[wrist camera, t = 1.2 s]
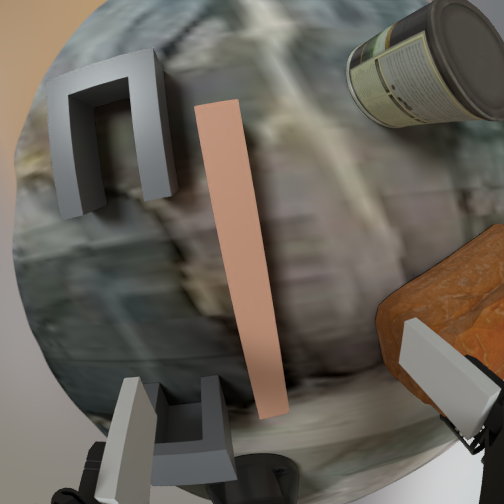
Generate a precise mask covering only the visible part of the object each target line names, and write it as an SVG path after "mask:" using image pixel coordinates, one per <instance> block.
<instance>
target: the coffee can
mask: <svg viewBox="0 0 504 504" xmlns="http://www.w3.org/2000/svg"><path fill="white" fill-rule="evenodd" d="M346 78H347V83H348V87H349V90H350V92H351V95H352V97H353V99H354V100H355V102H356V104H357V105H358V107H359V108H360V109H361V110H362V111H363V112H364V113H365V114H366V115H367V116H368V117H369V118H370V119H372V120H373V121H375V122H376V123H378V124H380V125H383V126H386V127H389V128H402V127H406V126H412V125H421V124H431V123H443V122H455V121H470V120H487V121H503V120H504V42H503V40H502V38H501V37H500V35H499V33H498V32H497V30H496V29H495V27H494V26H493V25H492V23H491V22H490V21H489V19H488V18H487V17H486V16H485V15H484V14H483V13H482V12H481V11H480V10H479V9H478V8H477V7H475V6H474V5H473V4H471V3H470V2H469V1H467V0H433V1H432V2H431V3H430V4H428V5H426V6H424V7H422V8H421V9H419V10H417V11H415V12H414V13H412V14H410V15H408V16H407V17H405V18H403V19H402V20H400V21H398V22H397V23H395V24H394V25H392V26H390V27H389V28H387V29H385V30H384V31H382V32H381V33H379V34H377V35H376V36H374V37H373V38H371V39H370V40H368V41H367V42H365V43H363V44H361V45H359V46H358V47H356V48H355V49H354V50H353V52H352V53H351V54H350V56H349V59H348V62H347V66H346Z"/></svg>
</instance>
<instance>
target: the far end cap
mask: <svg viewBox="0 0 504 504" xmlns="http://www.w3.org/2000/svg"><path fill="white" fill-rule="evenodd" d="M143 387H144V389H145V391H146V394H147V396H148V398H149V400H150V402H151V404H152V407H153V409H154V411H155V413H156V415H157V423H156V432H155V441H154V450H153V461H152V472H151V485H152V486H177V485H194V484H206V483H216V482H225V481H232V480H238V478H237V472H236V466H235V459H234V452H233V446H232V439H231V432H230V424H229V417H228V409H227V406H226V402H225V399H224V395H223V391H222V388H221V384H220V380H219V376H218V375H214V376H207V377H201V402H199V403H191V404H183V405H173V406H169V405H168V402H167V400H166V398H165V395H164V393H163V390H162V388H161V386H160V383H150V384H143Z"/></svg>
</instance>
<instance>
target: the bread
mask: <svg viewBox="0 0 504 504" xmlns="http://www.w3.org/2000/svg"><path fill="white" fill-rule="evenodd" d="M415 317H416V318H418V319H419V320H420V321H421V322H423V323H424V324H425V325H426V326H428V327H429V328H430V329H431V330H433V331H434V332H435V333H436V334H437V335H439V336H440V337H441V338H442V339H444V340H445V341H446V342H447V343H448V344H450V345H451V346H452V347H453V348H454V349H456V350H457V351H458V352H459V353H460V354H462V355H463V356H465V355H467V354H468V355H470V356H473V357H475V358H477V359H478V360H479V361H481V362H482V363H483V365H485V366H487V367H488V368H489V370H491V371H493V372H494V373H495V374H496V375H497V376H499V377H500V378H501V379H502V380H504V225H503V224H494V225H493V226H491V227H490V228H489V229H487V230H486V231H485V232H483V233H482V234H480V235H479V236H478V237H476V238H475V239H473V240H472V241H470V242H469V243H467V244H466V245H464V246H463V247H462V248H460V249H459V250H458V251H456V252H455V253H454V254H452V255H451V256H449V257H448V258H447V259H445V260H444V261H442V262H441V263H439V264H438V265H436V266H435V267H433V268H432V269H430V270H428V271H427V272H425V273H424V274H422V275H421V276H419V277H417V278H416V279H414V280H412V281H411V282H409V283H407V284H406V285H404V286H403V287H401V288H400V289H398V290H397V291H395V292H394V293H392V294H391V295H390V296H389V297H388V298H386V299H385V300H384V301H383V302H382V303H381V304H380V305H379V306H378V311H377V316H376V321H375V324H376V329H377V333H378V338H379V342H380V347H381V352H382V357H383V362H384V364H385V365H386V367H387V368H388V370H389V371H390V373H391V374H392V375H393V376H394V377H396V378H397V379H398V380H399V381H400V382H401V383H402V384H403V385H404V386H405V387H406V388H407V389H408V390H409V391H410V392H411V393H413V394H414V395H415V396H416V397H418V398H419V399H420V400H421V401H422V402H424V403H425V404H429V405H432V406H433V407H434V408H435V409H436V410H437V411H438V412H439V413H440V414H442V415H443V416H444V417H447V416H446V415H445V414H444V413H443V412H442V410H441V409H440V408H439V407H438V406H437V405H436V404H435V403H434V401H433V400H432V399H431V398H430V397H429V396H428V395H427V394H426V392H425V391H424V390H423V389H422V388H421V387H420V386H419V385H418V384H417V382H416V381H415V380H414V379H413V378H412V377H411V376H410V375H409V374H408V373H407V371H406V370H405V369H404V368H403V367H402V366H401V365H400V364H399V358H400V352H401V345H402V338H403V331H404V323H405V321H407V320H410V319H413V318H415Z"/></svg>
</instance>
